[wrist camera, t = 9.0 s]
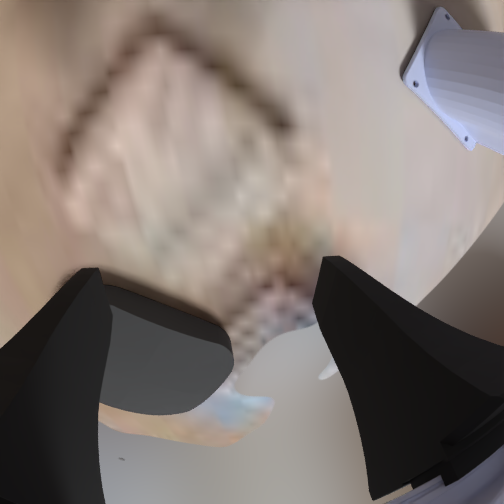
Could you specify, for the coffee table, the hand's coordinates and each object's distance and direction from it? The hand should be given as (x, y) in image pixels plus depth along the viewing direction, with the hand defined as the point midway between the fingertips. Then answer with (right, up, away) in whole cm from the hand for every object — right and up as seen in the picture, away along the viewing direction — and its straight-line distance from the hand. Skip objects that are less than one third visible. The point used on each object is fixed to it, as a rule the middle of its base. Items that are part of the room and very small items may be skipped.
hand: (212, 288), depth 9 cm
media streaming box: (-9, -8, +15) cm, 20 cm away
